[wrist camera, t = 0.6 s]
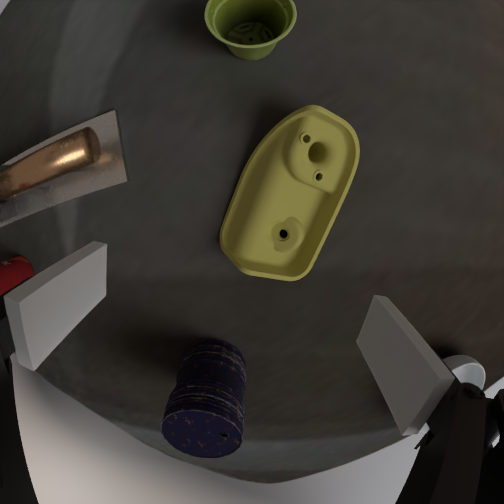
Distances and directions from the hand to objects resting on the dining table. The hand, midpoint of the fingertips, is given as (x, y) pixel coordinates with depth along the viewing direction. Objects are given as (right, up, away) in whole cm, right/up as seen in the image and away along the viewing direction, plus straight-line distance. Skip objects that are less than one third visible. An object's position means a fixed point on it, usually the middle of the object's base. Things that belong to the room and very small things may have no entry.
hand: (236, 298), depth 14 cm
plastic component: (+6, +9, +24) cm, 26 cm away
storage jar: (-5, -15, +30) cm, 34 cm away
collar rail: (-32, +13, +22) cm, 41 cm away
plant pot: (+1, +29, +18) cm, 34 cm away
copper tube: (-27, +13, +18) cm, 35 cm away
